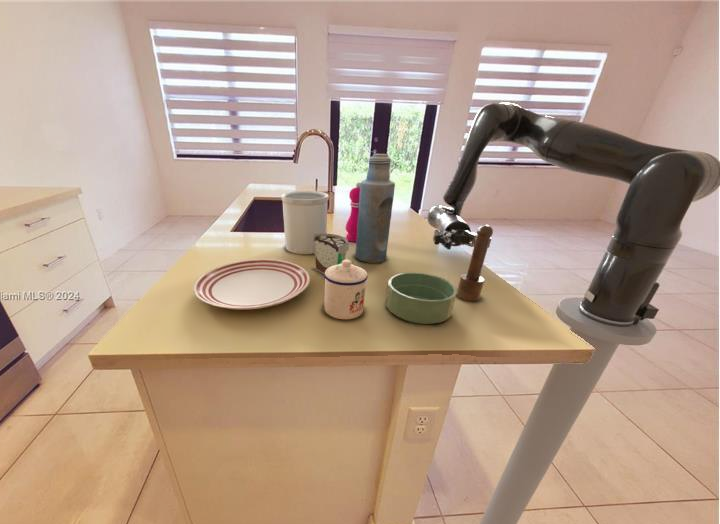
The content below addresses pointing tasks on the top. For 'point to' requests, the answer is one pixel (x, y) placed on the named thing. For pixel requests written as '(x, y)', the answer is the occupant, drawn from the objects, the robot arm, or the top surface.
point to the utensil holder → (304, 219)
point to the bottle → (375, 210)
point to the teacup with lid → (344, 290)
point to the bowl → (420, 297)
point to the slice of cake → (329, 250)
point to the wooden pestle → (475, 267)
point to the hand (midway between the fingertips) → (467, 247)
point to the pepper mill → (353, 214)
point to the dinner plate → (251, 284)
